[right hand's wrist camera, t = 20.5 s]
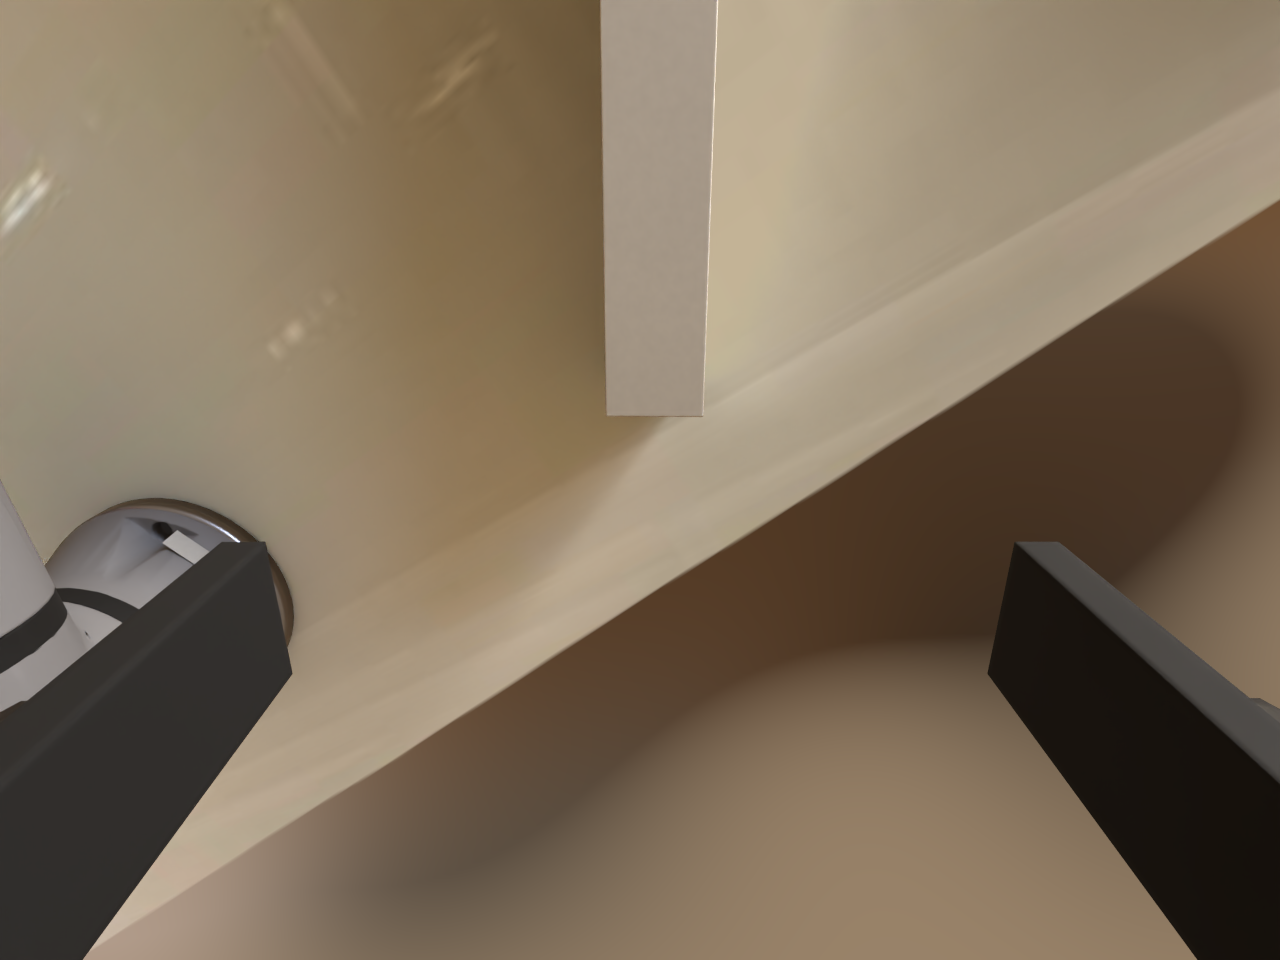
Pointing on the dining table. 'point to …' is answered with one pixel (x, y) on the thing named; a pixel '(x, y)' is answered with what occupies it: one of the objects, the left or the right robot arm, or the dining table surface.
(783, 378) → the dining table surface
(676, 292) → the beam
